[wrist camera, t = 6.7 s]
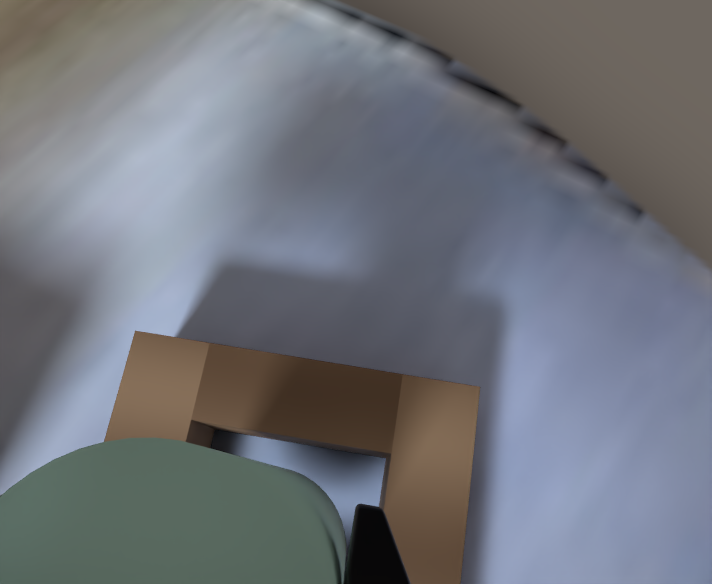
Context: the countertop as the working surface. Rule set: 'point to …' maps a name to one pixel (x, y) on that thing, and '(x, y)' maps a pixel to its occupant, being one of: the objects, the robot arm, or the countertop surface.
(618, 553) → the countertop surface
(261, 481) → the dowel
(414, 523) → the socket block
